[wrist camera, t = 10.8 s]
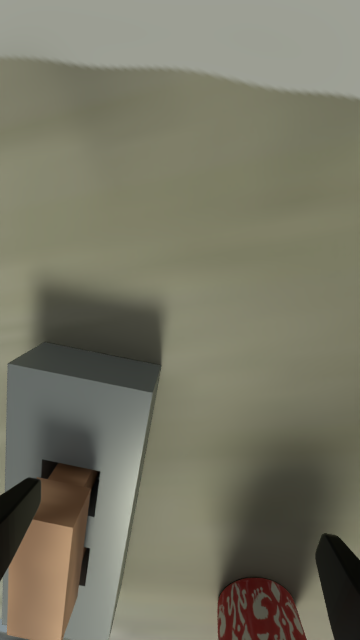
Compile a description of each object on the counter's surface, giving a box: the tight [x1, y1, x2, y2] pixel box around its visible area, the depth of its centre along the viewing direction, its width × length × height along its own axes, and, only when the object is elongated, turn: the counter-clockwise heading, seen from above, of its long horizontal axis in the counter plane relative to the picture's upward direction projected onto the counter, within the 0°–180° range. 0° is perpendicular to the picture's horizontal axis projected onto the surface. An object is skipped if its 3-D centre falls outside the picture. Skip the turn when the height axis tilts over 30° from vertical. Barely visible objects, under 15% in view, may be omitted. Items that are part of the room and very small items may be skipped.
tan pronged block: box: [7, 463, 100, 640], centre depth 19 cm, size 4×10×6 cm, turn 170°
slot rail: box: [2, 342, 161, 640], centre depth 21 cm, size 9×24×4 cm, turn 169°
